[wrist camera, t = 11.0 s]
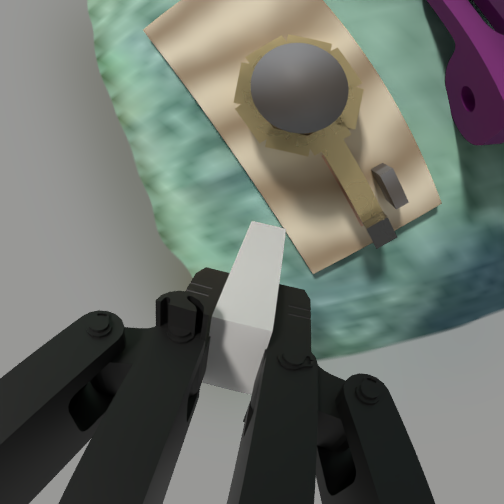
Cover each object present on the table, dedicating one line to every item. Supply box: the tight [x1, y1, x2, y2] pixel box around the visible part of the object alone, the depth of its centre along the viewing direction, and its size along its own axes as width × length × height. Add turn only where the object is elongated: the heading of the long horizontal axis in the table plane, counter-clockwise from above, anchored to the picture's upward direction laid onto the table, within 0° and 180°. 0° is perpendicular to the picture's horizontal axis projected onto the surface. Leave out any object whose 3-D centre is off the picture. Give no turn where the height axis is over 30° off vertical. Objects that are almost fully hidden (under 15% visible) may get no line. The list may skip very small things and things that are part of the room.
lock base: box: [143, 0, 442, 274], centre depth 18 cm, size 28×14×9 cm, turn 34°
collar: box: [233, 34, 397, 249], centre depth 20 cm, size 16×8×5 cm, turn 34°
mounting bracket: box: [427, 0, 504, 145], centre depth 15 cm, size 9×8×18 cm
